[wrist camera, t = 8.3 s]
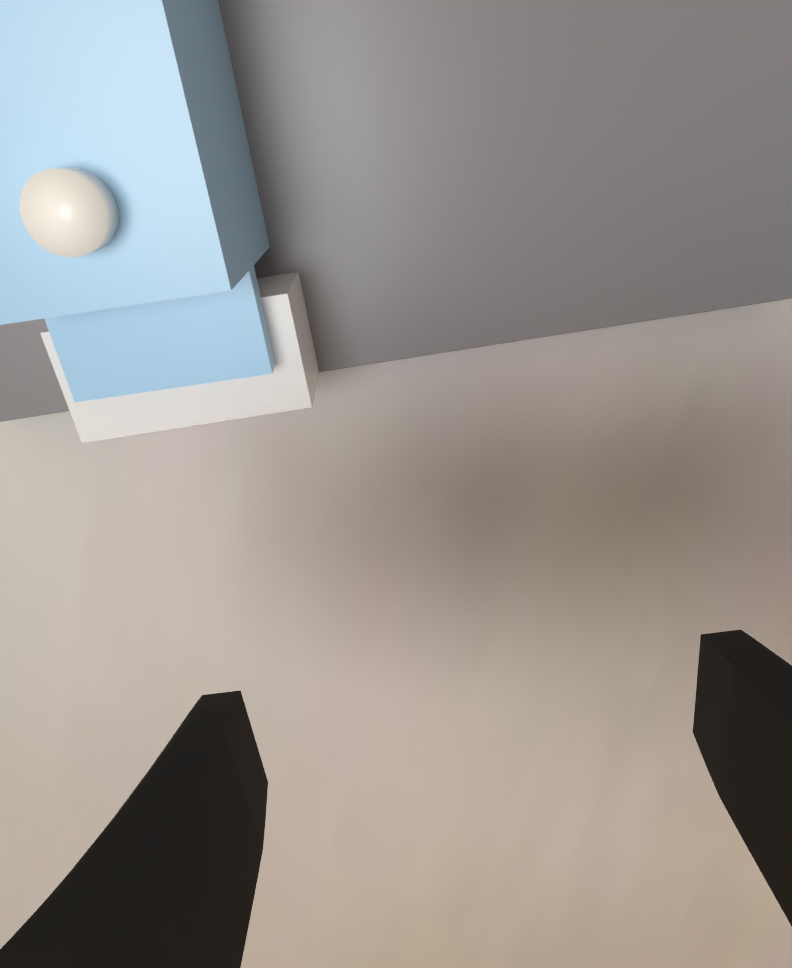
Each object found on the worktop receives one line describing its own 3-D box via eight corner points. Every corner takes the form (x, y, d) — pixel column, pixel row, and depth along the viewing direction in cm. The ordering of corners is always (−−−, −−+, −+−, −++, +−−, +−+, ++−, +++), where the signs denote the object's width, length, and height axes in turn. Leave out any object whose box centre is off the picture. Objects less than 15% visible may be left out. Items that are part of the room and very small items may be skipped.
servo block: (170, -229, 12) (32, -486, 7) (288, 334, 17) (253, 419, 12) (-54, -191, 12) (-343, -417, 7) (123, 358, 17) (19, 453, 12)
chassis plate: (834, -400, 12) (995, -585, 9) (772, 289, 18) (859, 322, 14) (-260, -196, 13) (-461, -303, 10) (0, 410, 18) (-77, 467, 15)
